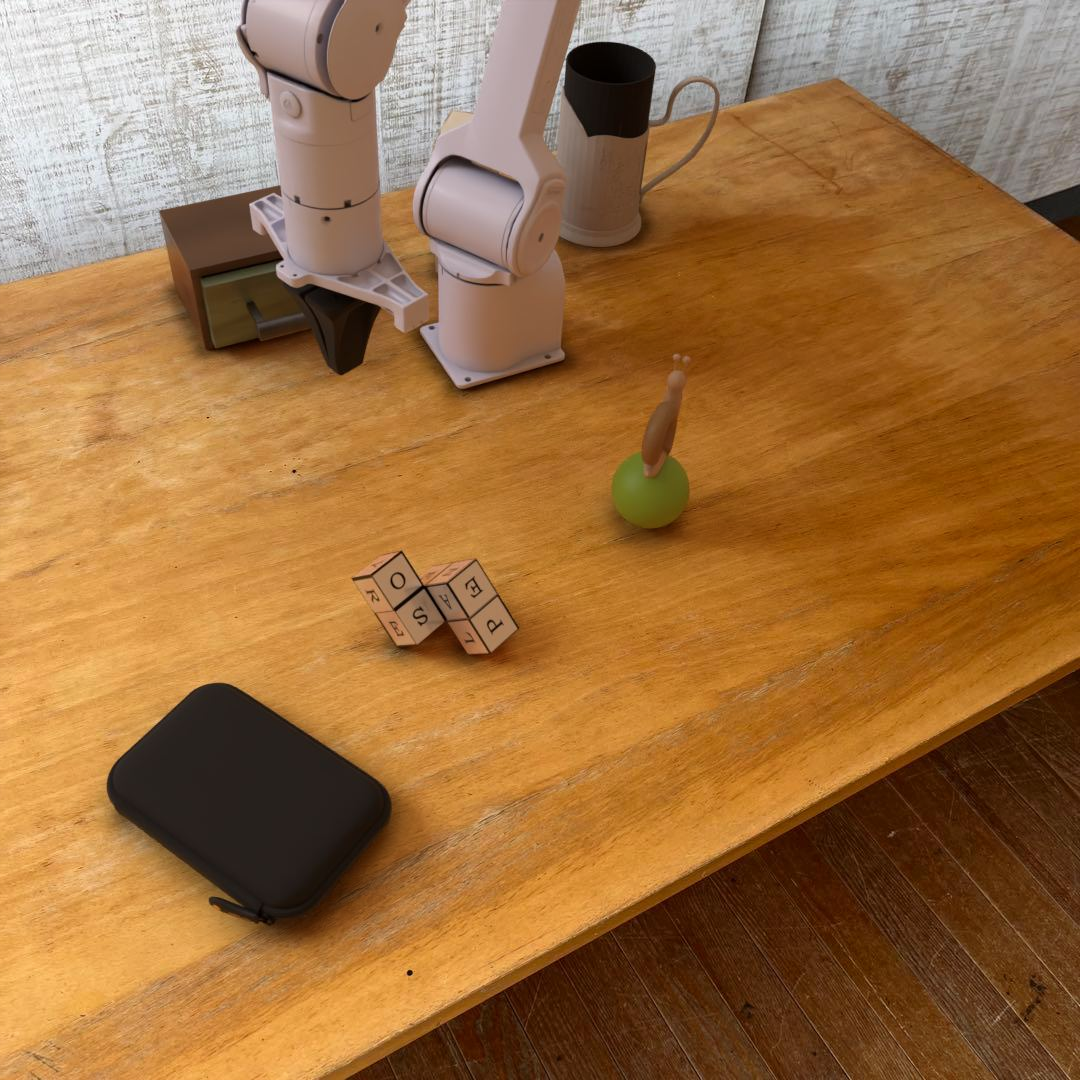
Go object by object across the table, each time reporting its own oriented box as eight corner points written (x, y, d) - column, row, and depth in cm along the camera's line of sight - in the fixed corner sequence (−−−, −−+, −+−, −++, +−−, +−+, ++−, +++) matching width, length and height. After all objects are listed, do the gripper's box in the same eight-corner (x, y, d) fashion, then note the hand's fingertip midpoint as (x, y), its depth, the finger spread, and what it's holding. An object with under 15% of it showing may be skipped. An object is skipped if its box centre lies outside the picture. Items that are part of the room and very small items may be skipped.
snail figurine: (694, 491, 85) (723, 363, 76) (672, 553, 81) (700, 425, 72) (623, 471, 86) (643, 343, 77) (597, 531, 82) (616, 402, 73)
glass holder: (542, 193, 110) (552, 37, 99) (688, 192, 112) (715, 38, 101) (552, 247, 105) (565, 88, 94) (707, 245, 106) (738, 88, 95)
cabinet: (355, 312, 97) (349, 233, 91) (205, 350, 93) (189, 270, 87) (319, 256, 102) (311, 178, 96) (175, 290, 98) (158, 210, 92)
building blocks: (474, 632, 78) (411, 531, 76) (519, 628, 74) (453, 522, 72) (418, 680, 75) (351, 578, 73) (461, 679, 71) (391, 570, 69)
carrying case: (80, 815, 65) (279, 965, 61) (67, 788, 63) (273, 941, 58) (217, 687, 72) (407, 814, 67) (209, 658, 69) (406, 787, 64)
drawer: (372, 343, 93) (368, 282, 89) (231, 380, 89) (220, 318, 85) (321, 263, 100) (315, 203, 95) (188, 295, 96) (176, 234, 91)
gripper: (197, 156, 69) (229, 339, 79) (360, 264, 63) (372, 448, 73) (292, 117, 73) (311, 296, 83) (455, 215, 66) (454, 396, 77)
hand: (345, 364), depth 78 cm, fingers closed
